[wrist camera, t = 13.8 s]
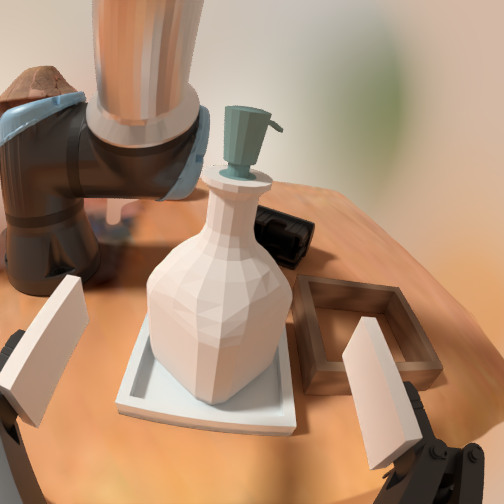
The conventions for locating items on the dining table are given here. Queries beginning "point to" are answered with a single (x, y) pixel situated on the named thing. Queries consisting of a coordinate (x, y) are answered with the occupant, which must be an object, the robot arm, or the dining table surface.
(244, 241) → the soap bottle
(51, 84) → the pottery vessel
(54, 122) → the robot arm
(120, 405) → the tray
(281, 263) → the end cap
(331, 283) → the walnut holder
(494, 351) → the dining table surface
